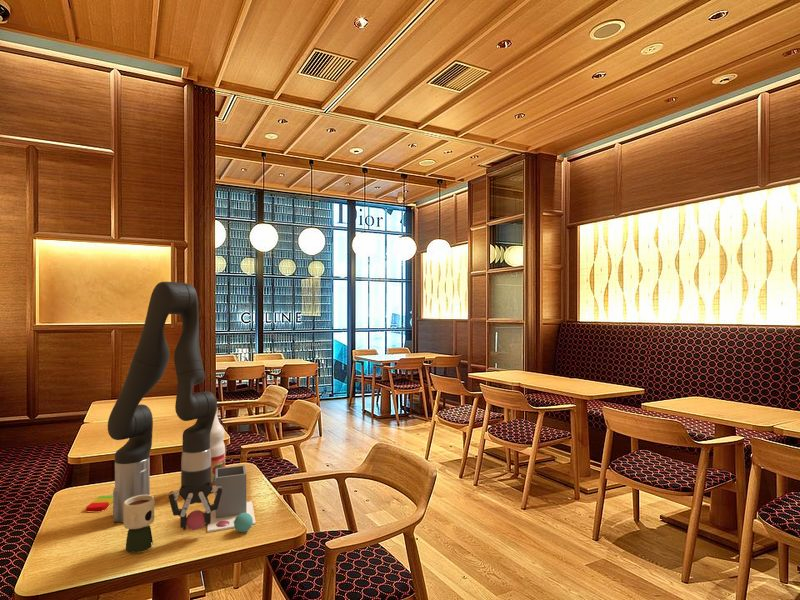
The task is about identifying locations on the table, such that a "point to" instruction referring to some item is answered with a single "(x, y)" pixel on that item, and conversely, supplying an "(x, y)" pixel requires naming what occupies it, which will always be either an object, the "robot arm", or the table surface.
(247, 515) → the teal ball
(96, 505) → the popsicle
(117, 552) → the table surface
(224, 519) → the tube card
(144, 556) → the table surface
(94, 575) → the table surface
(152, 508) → the character mug
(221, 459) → the strawberry milk bottle
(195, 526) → the pink ball
